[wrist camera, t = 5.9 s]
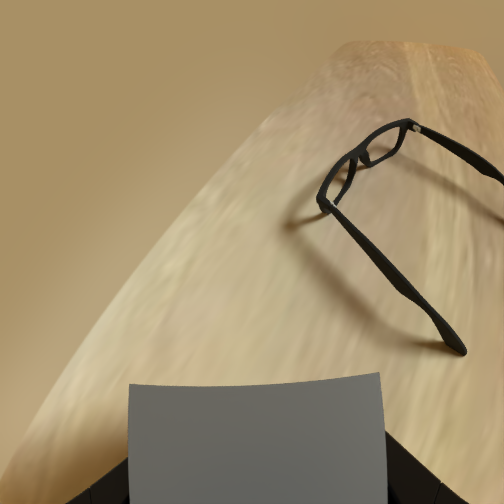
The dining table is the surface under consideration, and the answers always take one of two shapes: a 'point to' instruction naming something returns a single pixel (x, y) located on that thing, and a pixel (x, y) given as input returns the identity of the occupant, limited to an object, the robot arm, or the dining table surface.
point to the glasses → (366, 244)
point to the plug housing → (258, 443)
